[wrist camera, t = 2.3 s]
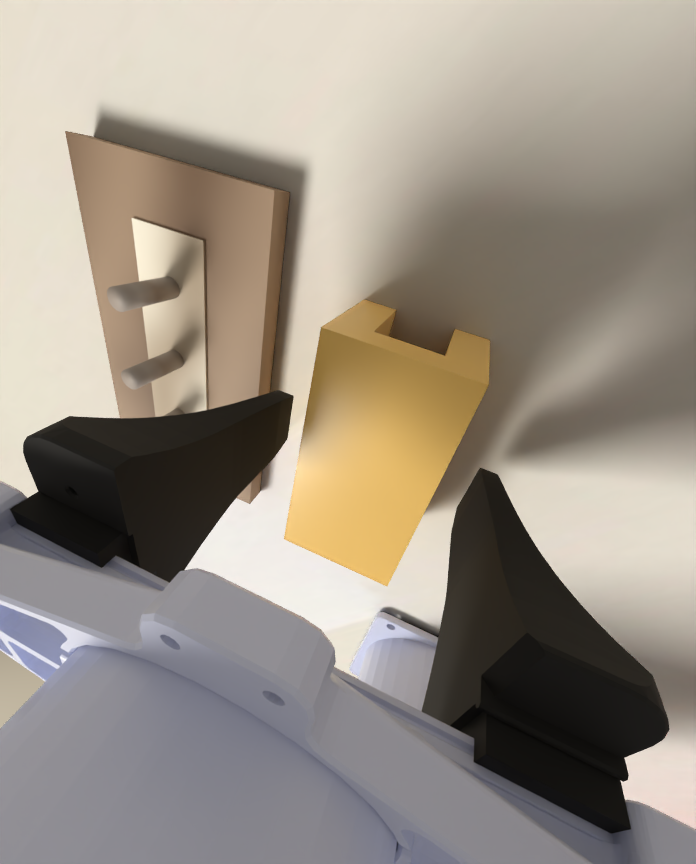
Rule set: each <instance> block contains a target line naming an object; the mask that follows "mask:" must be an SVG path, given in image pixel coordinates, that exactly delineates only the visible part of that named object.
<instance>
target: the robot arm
mask: <svg viewBox="0 0 696 864" xmlns="http://www.w3.org/2000/svg"><path fill="white" fill-rule="evenodd" d="M292 403H293V396H292V395H290V394H287V393H285V392H282V391H274V392H271V393H267V394H264V395H260V396H257V397H254V398H250V399H247V400H244V401H240V402H237V403H233V404H229V405H225V406H221V407H217V408H213V409H209V410H204V411H199V412H193V413H187V414H180V415H171V416H160V417H148V418H92V417H73V416H69V417H67V418H65V419H63V420H61V421H59V422H57V423H54V424H52V425H50V426H48V427H46V428H44V429H42V430H40V431H38V432H36V433H34V434H32V435H30V436H27V438H26V439H25V441H24V445H23V453H24V456H25V460H26V462H27V465H28V467H29V470H30V472H31V474H32V477H33V479H34V482H35V484H36V487H37V489H38V491H39V492H37V493H35V494H34V495H32V496H30V497H29V498H27V497H26V496H25V495H24V494H23V493H22V492H20V491H19V490H17V489H16V488H14V487H12V486H10V485H8V484H6V483H4V482H2V481H0V650H1V651H2V652H4V653H5V654H6V655H8V656H9V657H11V658H12V659H14V660H15V661H16V662H18V663H19V664H21V665H23V666H24V667H25V668H27V669H28V670H29V671H31V672H32V673H34V674H35V675H37V676H38V677H39V678H41V679H42V680H44V681H45V682H44V684H43V685H42V686H41V687H40V688H39V689H38V690H37V691H36V692H35V693H34V694H33V695H32V696H31V697H30V698H29V699H28V700H27V701H26V702H25V703H24V704H23V705H22V706H21V707H20V708H19V710H18V711H17V712H16V713H15V714H14V715H13V716H12V717H11V718H10V719H9V720H8V721H7V722H6V723H5V724H4V725H3V726H2V727H1V728H0V864H696V829H694V828H692V827H690V826H688V825H686V824H684V823H682V822H680V821H678V820H676V819H674V818H672V817H670V816H668V815H666V814H664V813H662V812H660V811H658V810H656V809H654V808H652V807H650V806H648V805H645V804H643V803H640V802H636V801H631V800H625V799H624V795H623V790H622V786H621V781H626V780H628V776H629V775H628V771H627V767H626V763H625V759H624V757H627V756H629V755H632V754H634V753H637V752H639V751H642V750H644V749H647V748H649V747H652V746H654V745H655V744H657V743H658V742H660V741H662V740H663V739H664V738H665V736H666V734H667V733H668V731H669V723H668V718H667V715H666V712H665V709H664V706H663V703H662V701H661V698H660V695H659V692H658V689H657V686H656V683H655V681H654V678H653V676H652V674H651V673H649V672H648V671H647V670H646V669H645V668H644V667H643V666H642V665H641V664H640V663H639V662H638V661H637V660H636V659H634V658H633V657H632V656H631V655H630V654H629V653H628V652H627V651H626V650H625V649H624V648H623V647H622V646H620V645H619V644H618V643H617V642H616V641H615V640H614V639H613V638H612V637H611V636H610V635H609V634H608V633H607V632H606V631H605V630H604V629H603V628H602V627H601V626H600V625H599V624H598V623H597V621H596V620H595V619H594V618H593V617H592V616H591V615H590V614H589V613H588V612H587V611H586V610H585V609H584V607H583V606H582V605H581V604H580V603H579V602H578V601H577V600H576V598H575V597H574V596H573V595H572V594H571V592H570V591H569V590H568V589H567V588H566V586H565V585H564V584H563V583H562V582H561V580H560V579H559V578H558V576H557V575H556V574H555V573H554V571H553V570H552V568H551V567H550V566H549V564H548V563H547V562H546V560H545V559H544V557H543V556H542V555H541V553H540V552H539V550H538V549H537V547H536V546H535V544H534V542H533V541H532V539H531V537H530V536H529V534H528V532H527V531H526V529H525V527H524V526H523V524H522V522H521V520H520V518H519V516H518V515H517V513H516V511H515V509H514V507H513V505H512V503H511V501H510V499H509V497H508V495H507V493H506V491H505V488H504V486H503V484H502V482H501V480H500V478H499V476H498V474H495V473H493V472H490V471H487V470H485V469H482V468H480V469H479V471H478V472H477V474H476V476H475V477H474V479H473V481H472V483H471V484H470V486H469V488H468V490H467V491H466V493H465V495H464V496H463V498H462V500H461V502H460V503H459V505H458V507H457V510H456V514H455V518H454V523H453V528H452V533H451V544H450V557H449V570H448V583H447V593H446V601H445V606H444V611H443V617H442V622H441V627H440V632H439V637H436V636H434V635H432V634H430V633H427V632H425V631H423V630H421V629H419V628H417V627H415V626H413V625H410V624H408V623H406V622H404V621H402V620H400V619H398V618H396V617H394V616H391V615H389V614H387V613H384V612H379V613H377V614H376V616H375V618H374V620H373V622H372V624H371V626H370V628H369V630H368V631H367V633H366V635H365V637H364V639H363V641H362V643H361V645H360V647H359V649H358V651H357V653H356V655H355V657H354V659H353V660H352V662H351V665H350V671H351V672H352V673H353V674H355V675H357V676H359V677H358V679H357V678H355V677H353V676H351V675H349V674H347V673H345V672H343V671H341V670H339V669H337V668H335V667H334V665H335V662H336V661H335V650H334V647H333V645H332V643H331V642H330V640H329V639H328V638H327V637H326V635H325V634H324V633H323V632H322V630H321V629H319V628H318V627H316V626H315V625H313V624H312V623H310V622H309V621H307V620H306V619H304V618H303V617H301V616H299V615H297V614H295V613H293V612H291V611H289V610H287V609H285V608H283V607H281V606H279V605H277V604H275V603H273V602H271V601H269V600H267V599H265V598H263V597H261V596H259V595H256V594H254V593H252V592H250V591H248V590H246V589H244V588H242V587H240V586H238V585H236V584H234V583H232V582H230V581H228V580H226V579H224V578H222V577H220V576H218V575H216V574H214V573H210V572H207V571H204V570H201V569H198V568H197V569H189V570H184V569H185V568H186V566H187V565H188V563H189V562H190V561H191V559H192V558H193V556H194V555H195V553H196V552H197V550H198V549H199V547H200V546H201V544H202V543H203V541H204V540H205V539H206V537H207V536H208V534H209V533H210V532H211V530H212V529H213V527H214V526H215V525H216V523H217V522H218V521H219V519H220V518H221V517H222V515H223V514H224V513H225V511H226V510H227V509H228V507H229V506H230V505H231V503H232V502H233V501H234V500H235V499H236V498H237V497H238V495H239V494H240V493H241V492H242V491H243V490H244V489H245V488H246V487H247V486H248V485H249V484H250V483H251V482H252V481H253V480H254V479H255V477H256V476H257V475H258V474H259V473H260V472H261V471H262V470H263V469H264V468H265V467H266V466H267V465H268V464H269V463H270V461H271V460H272V459H273V458H274V457H275V456H276V454H277V453H278V451H279V450H280V449H281V447H282V446H283V444H284V443H285V441H286V440H287V438H288V431H289V424H290V417H291V410H292ZM620 780H621V781H620Z"/></svg>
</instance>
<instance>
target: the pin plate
mask: <svg viewBox="0 0 696 864" xmlns="http://www.w3.org/2000/svg"><path fill="white" fill-rule="evenodd" d="M65 133H66V138H67V143H68V148H69V154H70V159H71V164H72V169H73V175H74V180H75V185H76V190H77V196H78V201H79V206H80V211H81V216H82V222H83V227H84V232H85V237H86V243H87V248H88V253H89V258H90V264H91V269H92V274H93V279H94V284H95V290H96V295H97V300H98V305H99V311H100V316H101V321H102V326H103V332H104V337H105V342H106V347H107V353H108V358H109V363H110V368H111V373H112V379H113V384H114V389H115V394H116V400H117V405H118V410H119V415H120V418H148V417H160V416H171V415H180V414H187V413H193V412H199V411H204V410H209V409H213V408H217V407H221V406H225V405H229V404H233V403H237V402H240V401H244V400H247V399H250V398H254V397H257V396H260V395H264V394H267V393H270V385H271V375H272V365H273V355H274V345H275V336H276V326H277V316H278V306H279V296H280V286H281V276H282V266H283V256H284V246H285V236H286V226H287V216H288V206H289V196H290V192H287V191H283V190H280V189H276V188H273V187H269V186H266V185H262V184H259V183H255V182H252V181H248V180H245V179H241V178H237V177H234V176H230V175H227V174H223V173H220V172H216V171H213V170H209V169H206V168H202V167H199V166H195V165H191V164H188V163H184V162H181V161H177V160H174V159H170V158H167V157H163V156H160V155H156V154H153V153H149V152H145V151H142V150H138V149H135V148H131V147H128V146H124V145H121V144H117V143H114V142H110V141H107V140H103V139H100V138H96V137H92V136H88V135H83V134H78V133H73V132H68V131H65ZM261 475H262V471H261V472H260V473H259V474H258V475H257V476H256V477H255V479H254V480H253V481H252V482H251V483H250V484H249V485H248V486H247V487H246V488H245V489H244V490H243V491H242V492H241V493H240V494H239V495H238V497H237V498H238V499H240V500H242V501H245V502H247V503H249V504H250V503H251V502H252V501H253V499H254V498H255V497H256V496H257V495H258V494H259V492H260V485H261Z"/></svg>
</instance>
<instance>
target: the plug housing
mask: <svg viewBox="0 0 696 864" xmlns="http://www.w3.org/2000/svg"><path fill="white" fill-rule="evenodd" d="M395 314H396V310H395V309H392V308H389V307H386V306H383V305H380V304H377V303H374V302H371V301H368V300H365V299H364V300H363V301H361V302H360V303H358V304H357V305H355V306H354V307H352V308H350V309H349V310H347V311H346V312H344V313H343V314H341V315H339V316H338V317H336V318H335V319H333V320H332V321H330V322H329V323H327V324H325V325H324V326H322V327H321V331H320V337H319V342H318V348H317V354H316V360H315V365H314V371H313V377H312V382H311V388H310V394H309V399H308V405H307V411H306V416H305V422H304V428H303V433H302V439H301V445H300V451H299V456H298V462H297V468H296V473H295V479H294V485H293V490H292V496H291V502H290V507H289V513H288V519H287V525H286V530H285V536H284V539H285V540H287V541H289V542H291V543H294V544H296V545H298V546H300V547H302V548H305V549H307V550H309V551H311V552H313V553H315V554H318V555H320V556H322V557H324V558H326V559H328V560H331V561H333V562H335V563H337V564H339V565H342V566H344V567H346V568H348V569H350V570H352V571H355V572H357V573H359V574H361V575H363V576H366V577H368V578H370V579H372V580H374V581H376V582H379V583H381V584H383V585H385V586H387V585H388V583H389V581H390V580H391V578H392V576H393V574H394V572H395V570H396V568H397V566H398V564H399V562H400V560H401V558H402V556H403V554H404V552H405V550H406V548H407V546H408V544H409V542H410V540H411V538H412V536H413V534H414V532H415V530H416V528H417V526H418V524H419V522H420V520H421V518H422V516H423V514H424V512H425V510H426V508H427V506H428V504H429V502H430V500H431V498H432V496H433V495H434V493H435V491H436V489H437V487H438V485H439V483H440V481H441V479H442V477H443V475H444V473H445V471H446V469H447V467H448V465H449V463H450V461H451V459H452V457H453V455H454V453H455V451H456V449H457V447H458V445H459V443H460V441H461V439H462V437H463V435H464V433H465V431H466V429H467V427H468V425H469V423H470V421H471V419H472V417H473V415H474V413H475V411H476V410H477V408H478V406H479V404H480V402H481V400H482V398H483V396H484V394H485V392H486V390H487V388H488V386H489V362H490V340H488V339H485V338H482V337H479V336H475V335H472V334H469V333H466V332H463V331H460V330H457V329H455V330H454V333H453V335H452V338H451V340H450V343H449V345H448V348H447V350H446V353H445V355H441V354H438V353H436V352H433V351H430V350H427V349H424V348H421V347H418V346H415V345H412V344H409V343H406V342H403V341H400V340H397V339H394V338H391V337H389V334H390V331H391V327H392V324H393V320H394V317H395Z"/></svg>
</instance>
